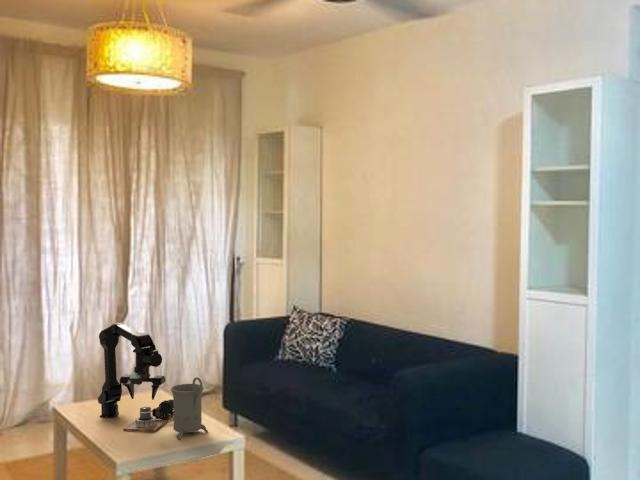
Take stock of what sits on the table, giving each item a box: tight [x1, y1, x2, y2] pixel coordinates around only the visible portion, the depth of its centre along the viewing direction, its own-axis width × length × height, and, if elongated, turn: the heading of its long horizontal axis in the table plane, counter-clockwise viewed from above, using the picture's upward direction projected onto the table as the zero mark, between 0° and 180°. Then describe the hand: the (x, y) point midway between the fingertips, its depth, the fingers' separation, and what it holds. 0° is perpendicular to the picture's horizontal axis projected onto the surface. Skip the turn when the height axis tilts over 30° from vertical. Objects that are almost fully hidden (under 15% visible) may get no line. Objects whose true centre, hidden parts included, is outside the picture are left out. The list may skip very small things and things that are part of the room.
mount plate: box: [123, 415, 168, 433], centre depth 289 cm, size 14×14×4 cm
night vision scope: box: [151, 399, 174, 421], centre depth 302 cm, size 8×18×10 cm
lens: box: [139, 406, 152, 421], centre depth 289 cm, size 5×5×7 cm
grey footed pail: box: [170, 376, 209, 441], centre depth 279 cm, size 19×15×25 cm
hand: (142, 399), depth 289 cm, fingers open, 9 cm apart
